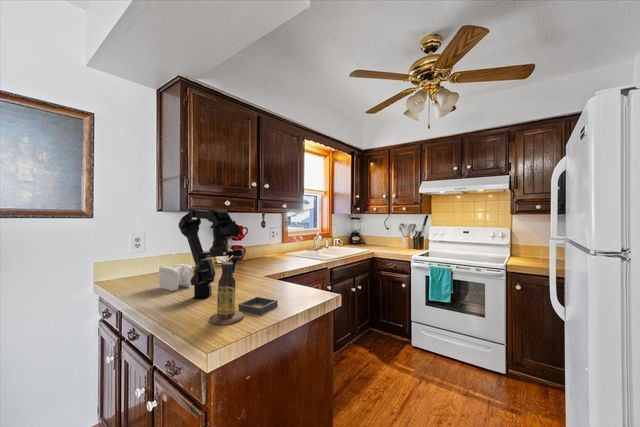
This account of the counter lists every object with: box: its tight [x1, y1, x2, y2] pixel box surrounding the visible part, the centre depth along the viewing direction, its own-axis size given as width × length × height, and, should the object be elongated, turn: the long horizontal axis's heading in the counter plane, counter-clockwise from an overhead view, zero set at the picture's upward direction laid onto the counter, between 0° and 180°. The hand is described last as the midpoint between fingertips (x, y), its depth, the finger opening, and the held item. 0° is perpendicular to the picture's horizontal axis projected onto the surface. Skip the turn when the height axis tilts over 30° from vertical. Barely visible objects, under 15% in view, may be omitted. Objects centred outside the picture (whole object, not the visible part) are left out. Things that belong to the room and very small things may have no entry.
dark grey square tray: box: [238, 296, 279, 316], centre depth 113 cm, size 11×11×2 cm
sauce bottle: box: [216, 261, 236, 319], centre depth 102 cm, size 6×6×20 cm
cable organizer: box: [158, 263, 193, 292], centre depth 143 cm, size 15×11×12 cm
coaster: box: [209, 310, 245, 326], centre depth 102 cm, size 12×12×1 cm
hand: (222, 274), depth 119 cm, fingers open, 9 cm apart
